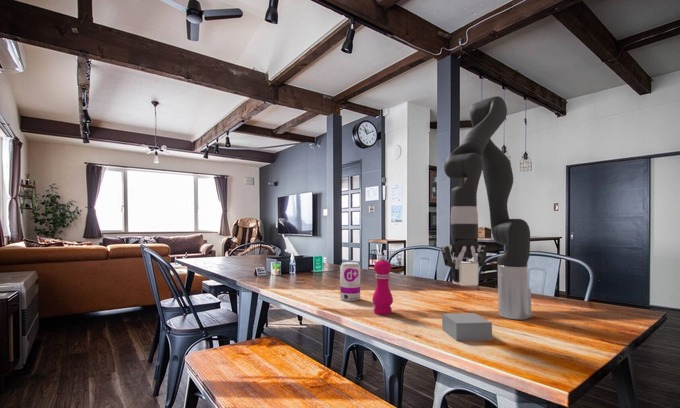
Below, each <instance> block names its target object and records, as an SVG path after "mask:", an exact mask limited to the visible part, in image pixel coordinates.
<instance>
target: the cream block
mask: <svg viewBox="0 0 680 408" xmlns="http://www.w3.org/2000/svg"><path fill="white" fill-rule="evenodd" d="M458 269H459V282H458V283H456V282H454V281H453V280H452V283H453V284H455V285H459V286H461V287H463V286H466V287H467V286H479V268H478V264H477V263H472V262H469V261H461V262H460V263H459V268H458Z"/></svg>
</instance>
